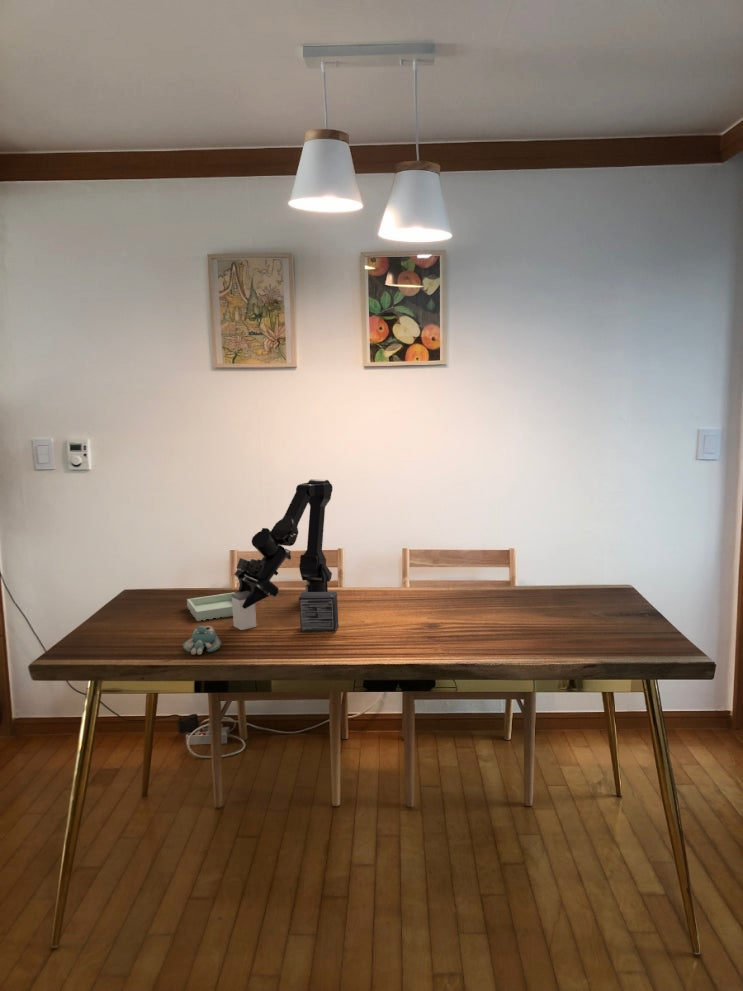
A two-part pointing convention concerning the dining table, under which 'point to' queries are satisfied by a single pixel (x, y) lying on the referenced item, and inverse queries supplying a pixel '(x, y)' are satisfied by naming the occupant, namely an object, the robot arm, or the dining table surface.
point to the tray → (211, 606)
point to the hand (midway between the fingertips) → (239, 605)
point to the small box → (318, 611)
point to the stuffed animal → (202, 640)
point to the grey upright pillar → (243, 611)
